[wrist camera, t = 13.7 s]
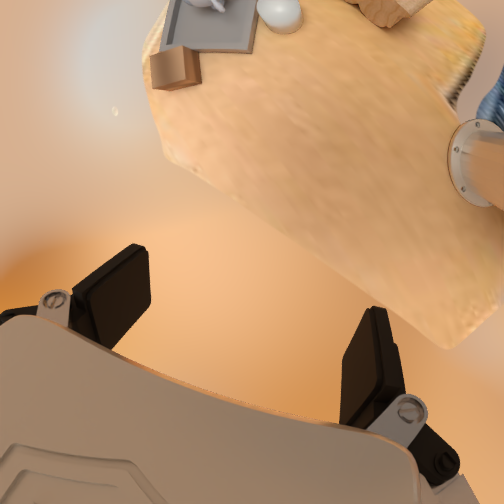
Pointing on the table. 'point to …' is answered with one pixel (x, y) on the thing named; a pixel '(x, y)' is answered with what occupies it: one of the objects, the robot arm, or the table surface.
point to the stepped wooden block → (389, 10)
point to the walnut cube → (175, 69)
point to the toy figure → (207, 4)
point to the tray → (211, 27)
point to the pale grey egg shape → (281, 15)
